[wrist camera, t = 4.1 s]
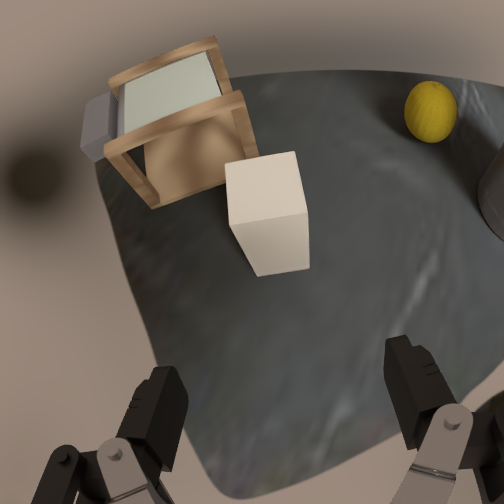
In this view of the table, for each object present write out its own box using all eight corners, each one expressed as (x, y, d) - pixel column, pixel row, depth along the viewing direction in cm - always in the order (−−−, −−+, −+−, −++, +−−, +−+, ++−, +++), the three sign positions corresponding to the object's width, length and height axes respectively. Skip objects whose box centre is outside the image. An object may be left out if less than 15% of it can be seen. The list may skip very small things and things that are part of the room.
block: (301, 221, 29) (294, 151, 20) (309, 268, 27) (307, 212, 18) (252, 229, 29) (224, 163, 20) (257, 276, 28) (229, 225, 18)
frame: (234, 99, 36) (214, 35, 27) (262, 170, 31) (243, 98, 22) (144, 133, 37) (108, 78, 28) (152, 210, 32) (103, 154, 23)
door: (209, 63, 29) (203, 46, 27) (228, 115, 25) (221, 95, 23) (97, 111, 30) (87, 97, 28) (93, 171, 26) (79, 156, 24)
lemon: (398, 115, 31) (409, 61, 24) (442, 126, 30) (460, 75, 23) (398, 151, 30) (413, 95, 22) (446, 162, 28) (470, 111, 21)
